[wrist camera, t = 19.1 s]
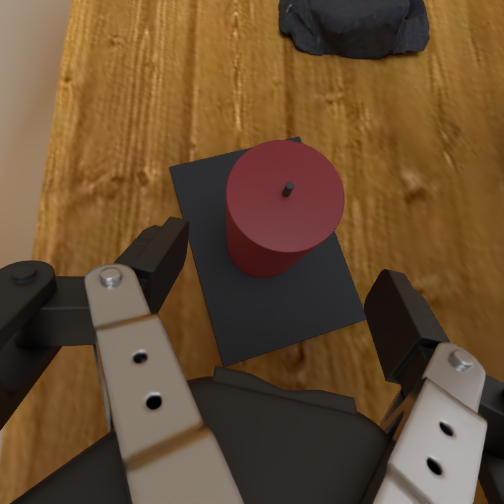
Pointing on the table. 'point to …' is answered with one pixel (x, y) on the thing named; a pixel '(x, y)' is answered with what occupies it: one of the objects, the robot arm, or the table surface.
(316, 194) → the candle
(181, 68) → the table surface
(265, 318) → the mat
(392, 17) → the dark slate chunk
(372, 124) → the table surface
